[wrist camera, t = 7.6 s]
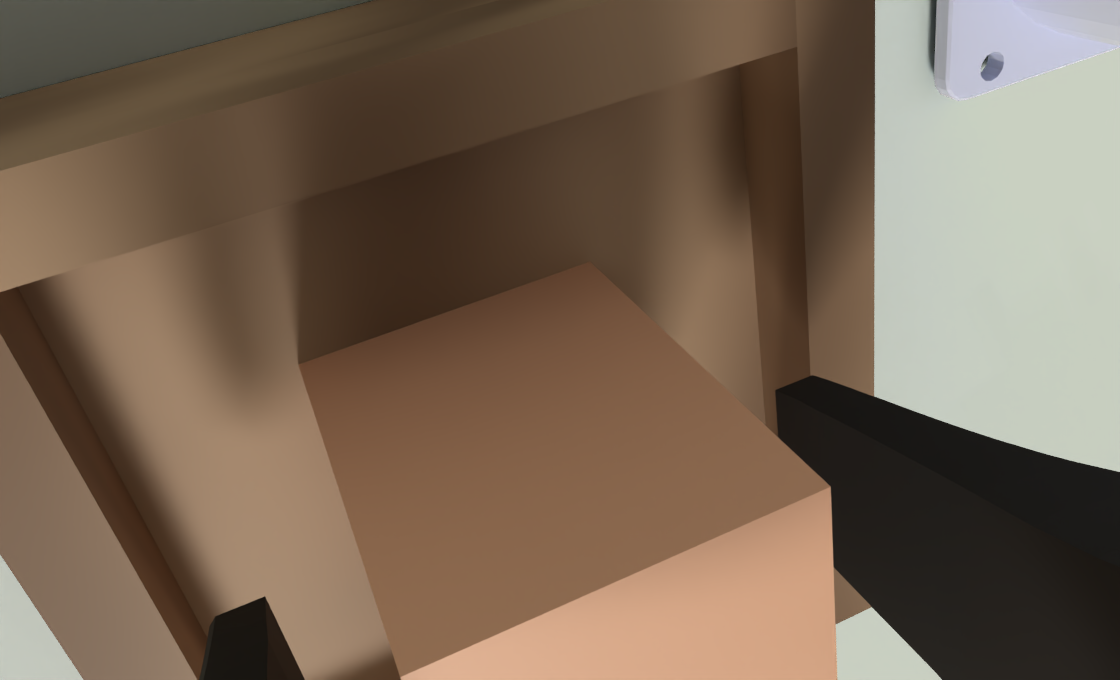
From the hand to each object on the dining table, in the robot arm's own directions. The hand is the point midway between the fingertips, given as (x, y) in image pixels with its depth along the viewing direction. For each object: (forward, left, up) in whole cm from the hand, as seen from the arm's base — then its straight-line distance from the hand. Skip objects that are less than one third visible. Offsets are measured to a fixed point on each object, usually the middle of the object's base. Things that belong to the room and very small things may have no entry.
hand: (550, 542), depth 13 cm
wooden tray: (0, 0, -5) cm, 5 cm away
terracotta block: (0, 0, -3) cm, 3 cm away
